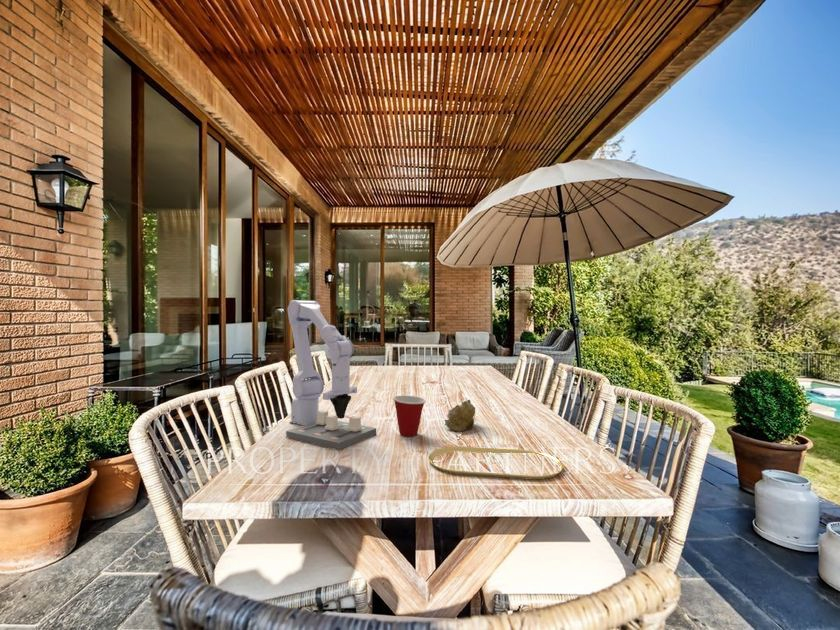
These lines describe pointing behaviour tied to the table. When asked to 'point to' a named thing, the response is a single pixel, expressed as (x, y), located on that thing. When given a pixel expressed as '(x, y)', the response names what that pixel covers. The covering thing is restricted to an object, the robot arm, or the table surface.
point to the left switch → (321, 417)
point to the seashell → (461, 417)
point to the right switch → (354, 423)
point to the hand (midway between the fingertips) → (340, 417)
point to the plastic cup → (408, 414)
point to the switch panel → (330, 435)
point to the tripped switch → (331, 422)
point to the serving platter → (483, 450)
